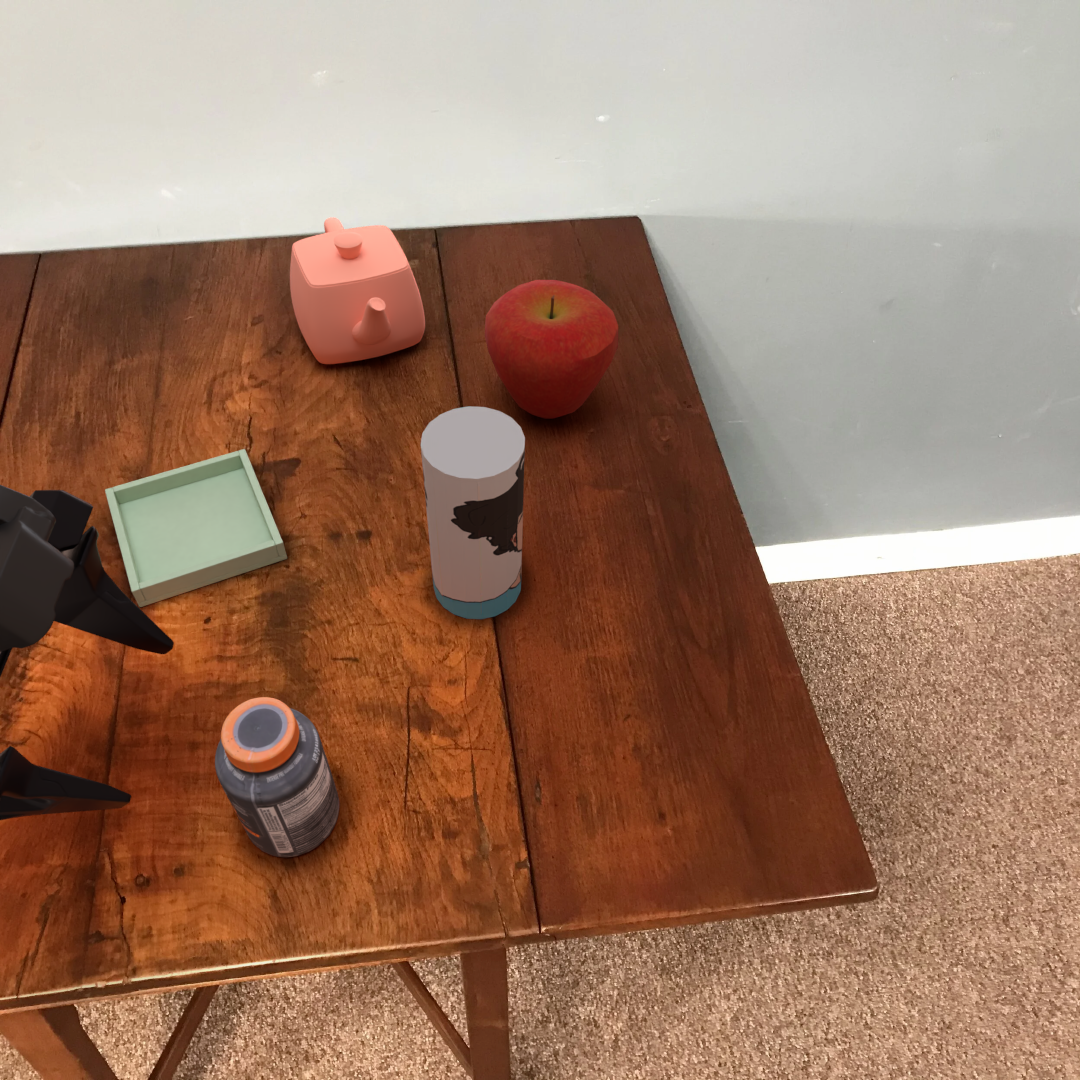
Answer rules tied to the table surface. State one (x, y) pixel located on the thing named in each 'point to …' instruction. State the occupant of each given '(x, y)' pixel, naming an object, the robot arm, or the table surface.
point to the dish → (193, 527)
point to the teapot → (354, 293)
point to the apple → (550, 345)
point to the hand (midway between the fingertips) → (149, 721)
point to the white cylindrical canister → (474, 509)
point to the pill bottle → (277, 777)
